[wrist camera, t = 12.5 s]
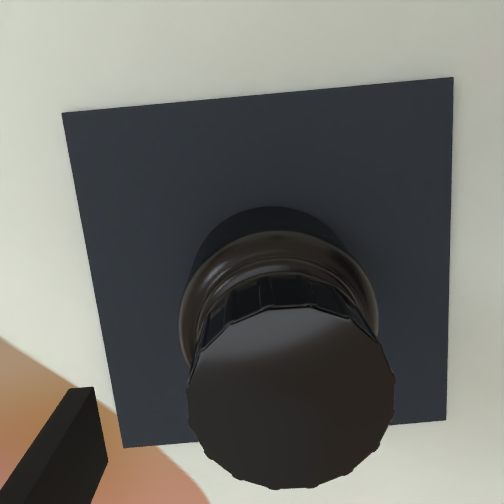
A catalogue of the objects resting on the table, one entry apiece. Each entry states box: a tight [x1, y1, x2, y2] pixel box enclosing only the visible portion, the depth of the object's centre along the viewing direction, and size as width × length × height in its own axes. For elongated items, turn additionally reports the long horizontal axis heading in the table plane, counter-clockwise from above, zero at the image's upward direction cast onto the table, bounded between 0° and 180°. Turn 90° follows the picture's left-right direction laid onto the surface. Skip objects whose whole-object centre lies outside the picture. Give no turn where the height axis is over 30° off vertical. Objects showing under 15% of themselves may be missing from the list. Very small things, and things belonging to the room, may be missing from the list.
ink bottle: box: [178, 206, 396, 490], centre depth 21 cm, size 10×9×12 cm
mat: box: [62, 77, 454, 448], centre depth 27 cm, size 20×20×1 cm
